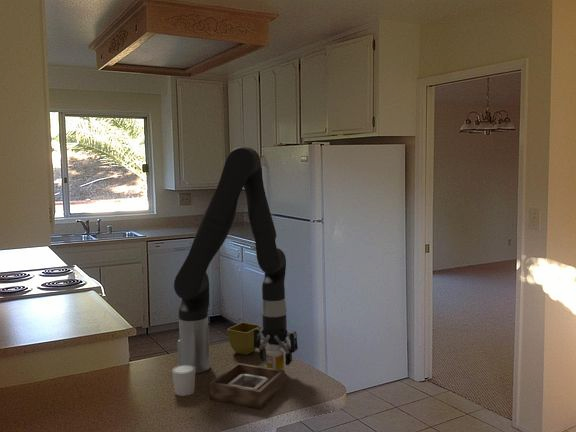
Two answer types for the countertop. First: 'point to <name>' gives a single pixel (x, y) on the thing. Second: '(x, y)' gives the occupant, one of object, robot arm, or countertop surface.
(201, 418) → the countertop surface
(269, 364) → the supplement bottle
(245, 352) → the flower pot
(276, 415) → the countertop surface
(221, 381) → the walled box
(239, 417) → the countertop surface
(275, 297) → the robot arm
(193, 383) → the white cup
